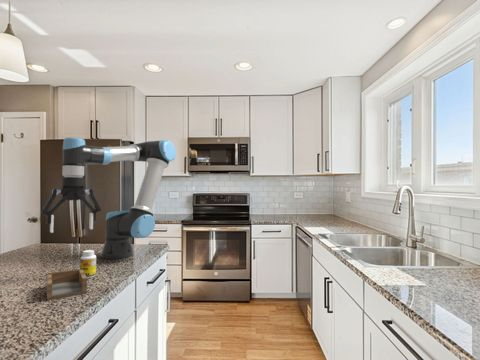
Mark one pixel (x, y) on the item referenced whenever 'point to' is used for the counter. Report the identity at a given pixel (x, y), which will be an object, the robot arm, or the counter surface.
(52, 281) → the walnut u rest
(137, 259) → the counter surface
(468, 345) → the counter surface
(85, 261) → the supplement bottle
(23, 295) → the counter surface
